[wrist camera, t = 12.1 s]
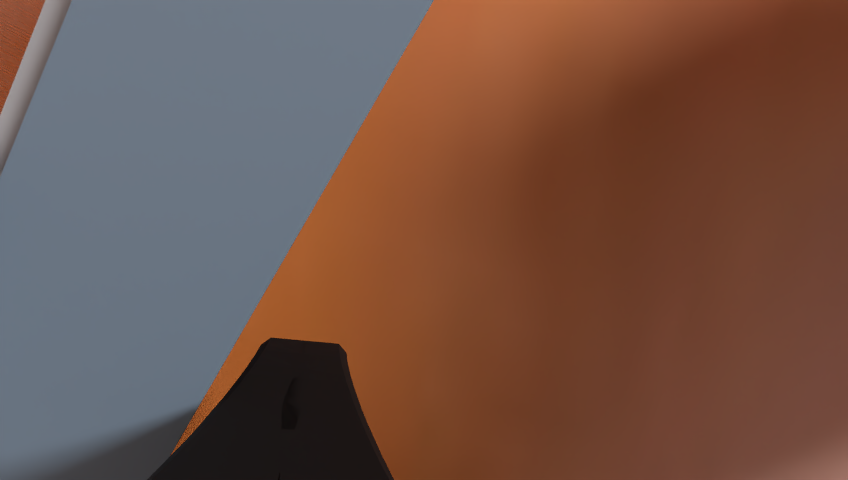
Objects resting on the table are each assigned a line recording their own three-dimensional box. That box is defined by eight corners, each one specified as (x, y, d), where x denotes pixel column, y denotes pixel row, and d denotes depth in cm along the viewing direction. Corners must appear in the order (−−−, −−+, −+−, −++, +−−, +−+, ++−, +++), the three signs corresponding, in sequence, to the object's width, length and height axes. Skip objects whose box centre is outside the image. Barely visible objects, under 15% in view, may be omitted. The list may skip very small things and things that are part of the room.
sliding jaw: (410, -57, 12) (433, 0, 7) (128, 452, 15) (5, 741, 10) (231, -169, 11) (105, -202, 6) (-20, 393, 14) (-233, 673, 9)
